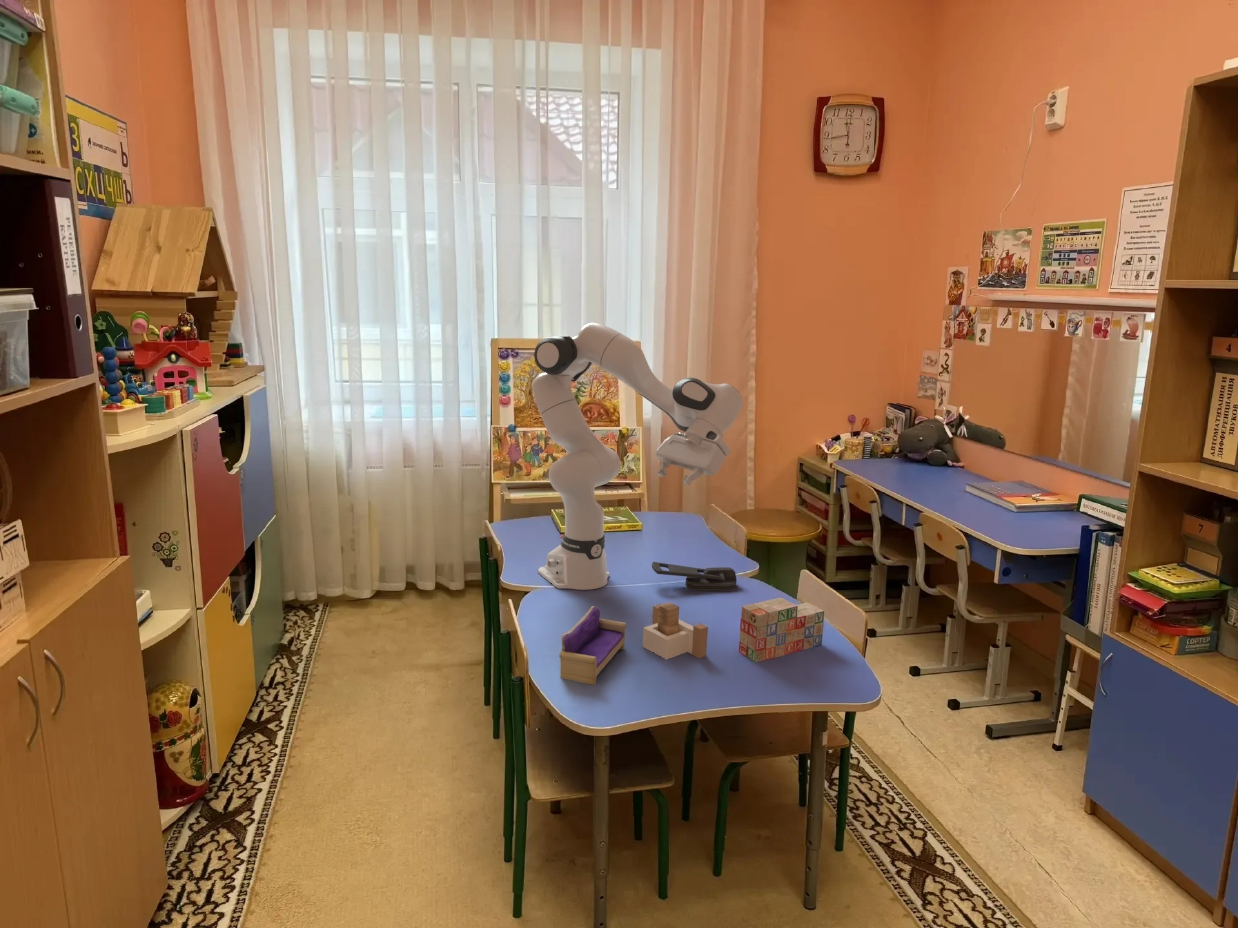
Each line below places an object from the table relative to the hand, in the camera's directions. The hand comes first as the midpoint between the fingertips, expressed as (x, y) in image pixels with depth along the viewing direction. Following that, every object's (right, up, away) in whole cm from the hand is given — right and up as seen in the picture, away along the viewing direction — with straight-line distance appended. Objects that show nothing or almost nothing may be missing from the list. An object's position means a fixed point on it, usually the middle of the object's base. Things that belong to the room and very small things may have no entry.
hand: (672, 479), depth 212 cm
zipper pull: (+8, -32, +30) cm, 44 cm away
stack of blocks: (+26, -42, -9) cm, 50 cm away
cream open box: (-2, -41, -11) cm, 42 cm away
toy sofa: (-20, -43, -19) cm, 51 cm away
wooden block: (-2, -41, -11) cm, 42 cm away
